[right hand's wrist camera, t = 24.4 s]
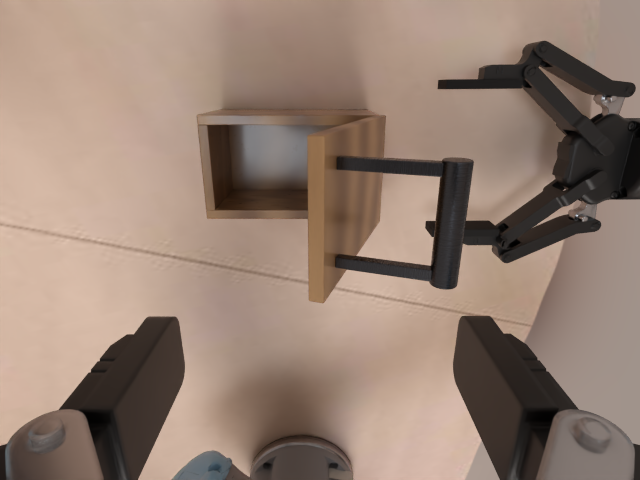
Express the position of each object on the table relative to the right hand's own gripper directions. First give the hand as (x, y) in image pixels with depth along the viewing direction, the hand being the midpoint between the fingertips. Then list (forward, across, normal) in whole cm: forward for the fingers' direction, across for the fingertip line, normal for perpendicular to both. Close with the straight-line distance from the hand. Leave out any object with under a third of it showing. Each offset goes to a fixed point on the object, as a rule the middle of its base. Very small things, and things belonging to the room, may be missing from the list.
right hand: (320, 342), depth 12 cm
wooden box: (+35, -3, 0) cm, 35 cm away
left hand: (+29, +11, 0) cm, 31 cm away
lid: (+18, +2, 0) cm, 18 cm away
